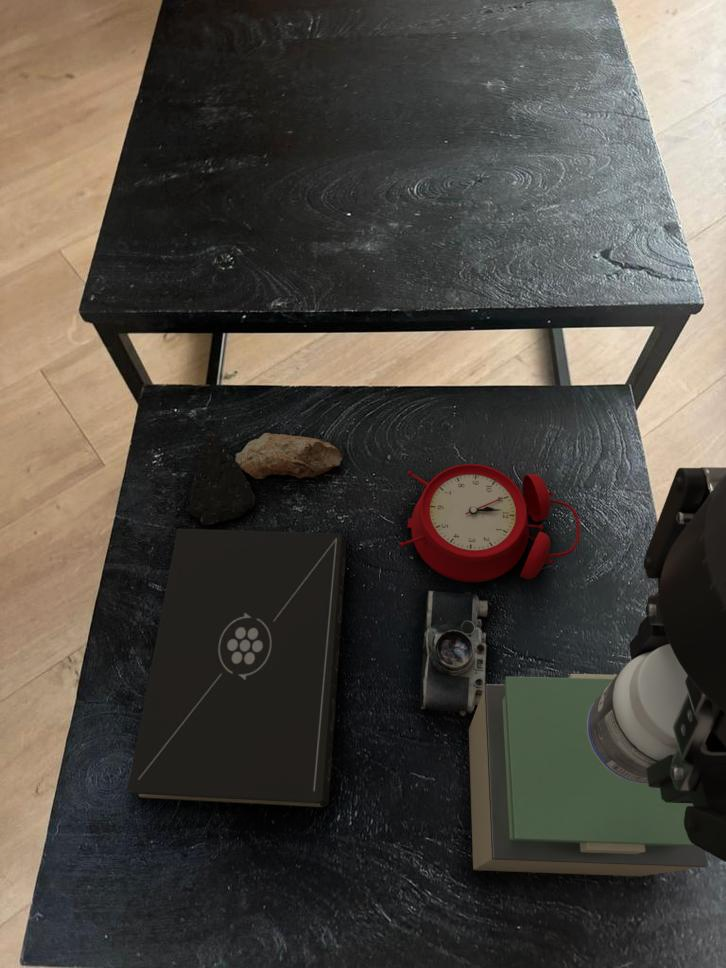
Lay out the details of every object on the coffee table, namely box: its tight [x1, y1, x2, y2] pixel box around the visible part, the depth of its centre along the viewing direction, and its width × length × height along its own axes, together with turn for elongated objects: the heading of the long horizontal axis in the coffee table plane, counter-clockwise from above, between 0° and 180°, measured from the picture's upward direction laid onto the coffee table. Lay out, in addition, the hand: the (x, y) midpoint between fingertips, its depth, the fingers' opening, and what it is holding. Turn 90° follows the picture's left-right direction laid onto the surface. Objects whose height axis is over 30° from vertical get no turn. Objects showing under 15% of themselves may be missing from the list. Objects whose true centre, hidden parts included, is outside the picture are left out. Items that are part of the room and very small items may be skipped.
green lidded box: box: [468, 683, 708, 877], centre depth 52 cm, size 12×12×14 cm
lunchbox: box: [502, 673, 698, 854], centre depth 44 cm, size 11×9×4 cm
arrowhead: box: [187, 430, 256, 527], centre depth 72 cm, size 6×1×10 cm
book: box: [126, 528, 348, 809], centre depth 62 cm, size 22×15×3 cm
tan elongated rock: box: [234, 432, 343, 480], centre depth 72 cm, size 10×4×5 cm
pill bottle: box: [587, 644, 688, 784], centre depth 33 cm, size 5×5×8 cm
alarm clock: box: [398, 463, 581, 583], centre depth 67 cm, size 10×6×15 cm
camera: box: [419, 590, 489, 717], centre depth 61 cm, size 5×10×4 cm, turn 173°
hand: (661, 713), depth 33 cm, fingers closed on pill bottle, 4 cm apart
